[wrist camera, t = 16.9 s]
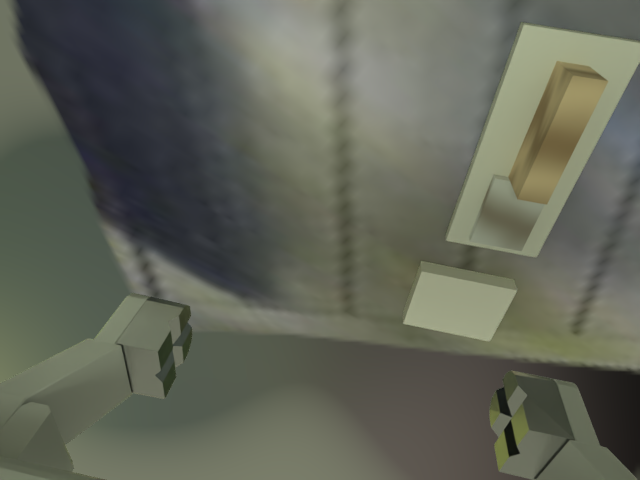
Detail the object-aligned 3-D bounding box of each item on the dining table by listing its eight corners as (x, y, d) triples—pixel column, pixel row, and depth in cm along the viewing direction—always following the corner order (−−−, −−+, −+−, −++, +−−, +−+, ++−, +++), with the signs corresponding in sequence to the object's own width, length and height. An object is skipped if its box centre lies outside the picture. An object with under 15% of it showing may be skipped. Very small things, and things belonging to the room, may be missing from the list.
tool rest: (521, 22, 33) (524, 24, 33) (643, 41, 33) (648, 44, 32) (445, 235, 45) (445, 240, 44) (533, 251, 45) (536, 257, 44)
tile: (421, 271, 46) (403, 323, 51) (517, 290, 46) (489, 341, 51) (421, 258, 48) (403, 310, 53) (513, 277, 47) (486, 327, 52)
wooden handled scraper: (539, 58, 34) (553, 72, 31) (606, 68, 33) (627, 84, 30) (468, 236, 44) (473, 261, 41) (519, 246, 44) (528, 272, 40)
